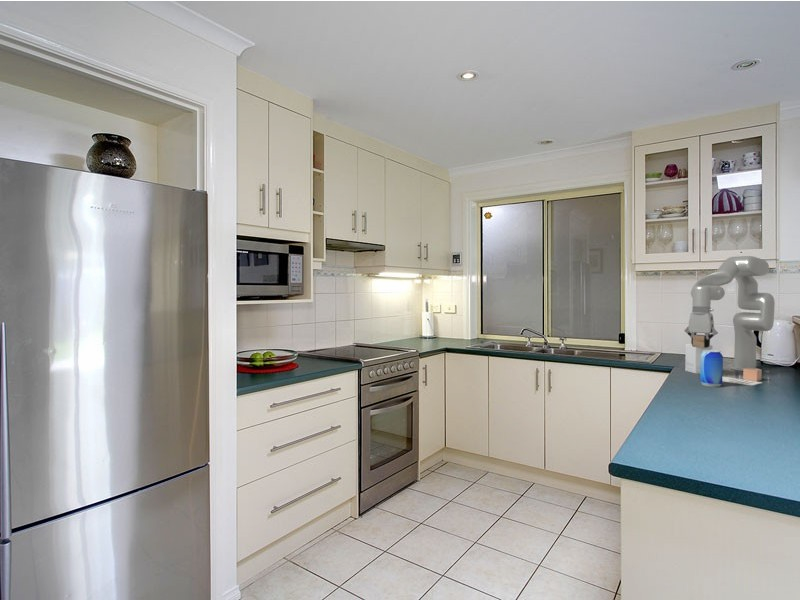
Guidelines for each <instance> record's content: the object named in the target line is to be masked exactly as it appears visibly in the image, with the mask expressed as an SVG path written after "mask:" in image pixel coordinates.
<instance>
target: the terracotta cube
mask: <svg viewBox="0 0 800 600" xmlns="http://www.w3.org/2000/svg"><path fill="white" fill-rule="evenodd" d="M762 371H763V370H762V369H761V368H758V369H754V368H745V369H743V371H742V372H743V373H742V374H743V376H742V377H743V380H750V381H756V382H761V381H763V380H762V373H763V372H762Z"/></svg>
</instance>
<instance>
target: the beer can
mask: <svg viewBox="0 0 800 600" xmlns="http://www.w3.org/2000/svg"><path fill="white" fill-rule="evenodd" d="M723 360H724V356H723V355H722V353H721V350H717V349H716V350H715V349H712V350H703V352H702V354H701V364H700V373H699V374H700V375H699V382H700V384H701V385H702V386H706V387H710V388H711V387H713V388H718V387H719V388H720V387H721V386H722V385H723V381H722V377H723V370H724V369H723V367H724V366H723V365H724V361H723Z"/></svg>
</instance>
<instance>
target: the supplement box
mask: <svg viewBox="0 0 800 600" xmlns="http://www.w3.org/2000/svg"><path fill="white" fill-rule="evenodd" d="M703 350H713V345H711V344H710V346H709V347H707V348H698V347H693V346H692V344H691V343H685V359H684V360H685V361H684V362H685V366H684V367H685V369H684V370H685V372H689V373H691V374H700V364H701V354H702V352H703Z"/></svg>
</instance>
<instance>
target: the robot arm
mask: <svg viewBox="0 0 800 600" xmlns="http://www.w3.org/2000/svg"><path fill="white" fill-rule="evenodd" d="M769 270H770V266H769V263H768V261H767V260H765V259H762V258H759V257H756V256H752V255H742V256H741V255H739V256H731V257H730V256H729V257H727V258H726V259H725V260H724V261H723V262H722V264H721V265H720V266H719V267H718V268H717V270H715V272H712V273H710V274H708V275H705V276H703V277H701V278H699V280H697V281H696V282H695V283H694V285H693V286H692V288H691V290H690V295H691V298H692V306H691V307H692V309H691V310H692V312H691V313H690V314H689V320H688V326H687V327H686V328H685V329H684V332H685V333H686V334H687V335H688V336H689V337H690V338H691V340H690V341H691V342H690V344H692V346H693V335H698V334H704V335H705V337H706V339H705V347H709V346H710V345H711V344H710V343H711V339H712V338H713V337H715V336H716V335H718V334H719V332H718V331H717V330H716V328H715V323H714V322H715V321H714V315H713V313H712V312H714V308H712V307H711V305H712V304H711V303H712V302H711V301H719V300H723V298H724V297H725V294H726V293H725V289H724V288H723V287H722V286H724V285H728V284H730V283H731V282H732V281H733V280H734V279H735V280H736V281H737V285H738V287H737V306H738V308H739V309H740V310H743V312H738V313H736V314H734V315H733V317H732V323H733V328H734V330H733V331H734V350H733V351H734V353H733V354H734V356H733V357H734V358H733V359H734V360H733V364H734V365H731V366H730V369H731V370H734V371H740V372H743V369H745V368H754V369H759V368H757V336H756V334H755V333H754V332H753V331H757V332H768V331H771V330H772V329H773V326H774V322H775V321H774V319H775V305H776V303H775V302H776V301H775V298H774V295H773V294H771V293H768V292H759V290H758V289H759V282H758V281H757V280H756V278H755V277H761V276H765V275H767V274H768V272H769ZM744 310H745V311H744ZM746 311H747V312H746ZM748 311H750V312H748ZM751 311H760V312H751Z"/></svg>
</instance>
